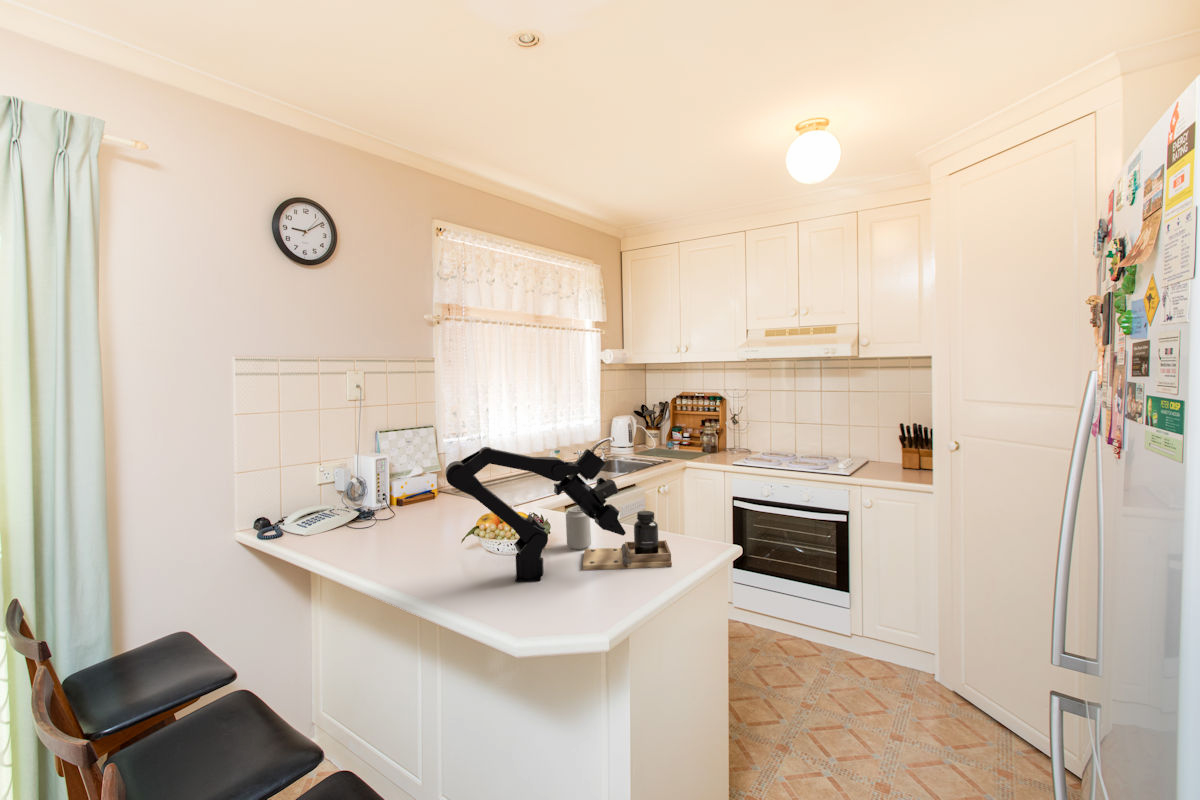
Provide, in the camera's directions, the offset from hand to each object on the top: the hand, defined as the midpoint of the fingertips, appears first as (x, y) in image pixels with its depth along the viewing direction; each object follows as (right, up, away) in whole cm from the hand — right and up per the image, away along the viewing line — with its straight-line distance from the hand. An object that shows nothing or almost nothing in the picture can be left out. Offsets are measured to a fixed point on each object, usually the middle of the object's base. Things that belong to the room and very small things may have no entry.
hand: (618, 529), depth 147 cm
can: (-12, -10, +16) cm, 22 cm away
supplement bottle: (+8, -8, +3) cm, 12 cm away
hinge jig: (+2, -9, +3) cm, 10 cm away
